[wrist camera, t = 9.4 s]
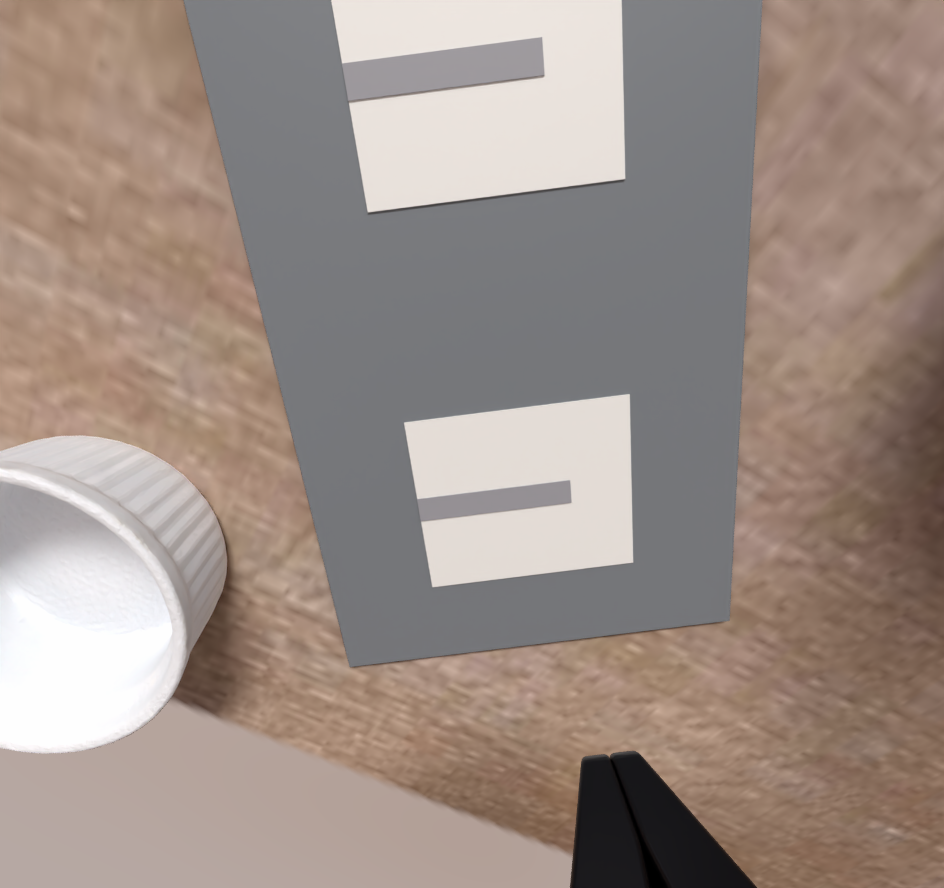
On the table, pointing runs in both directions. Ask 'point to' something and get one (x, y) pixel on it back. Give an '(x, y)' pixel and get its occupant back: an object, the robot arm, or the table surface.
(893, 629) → the table surface
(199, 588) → the ramekin
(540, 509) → the slate mat
